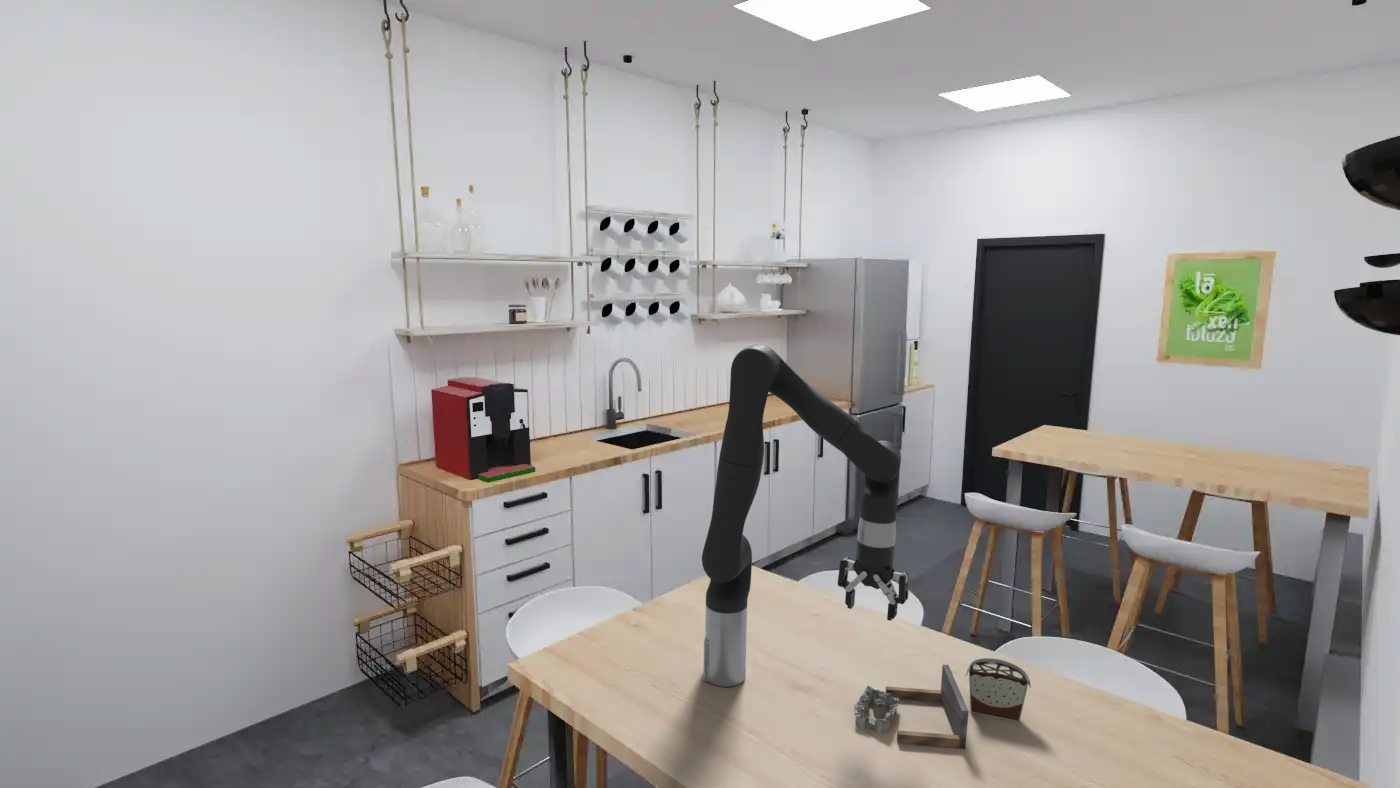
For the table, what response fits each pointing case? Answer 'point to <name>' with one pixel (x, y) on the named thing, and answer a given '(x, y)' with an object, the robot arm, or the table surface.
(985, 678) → the food container
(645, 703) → the table surface
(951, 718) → the display stand
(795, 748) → the table surface
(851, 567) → the robot arm
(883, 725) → the egg carton
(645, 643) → the table surface
